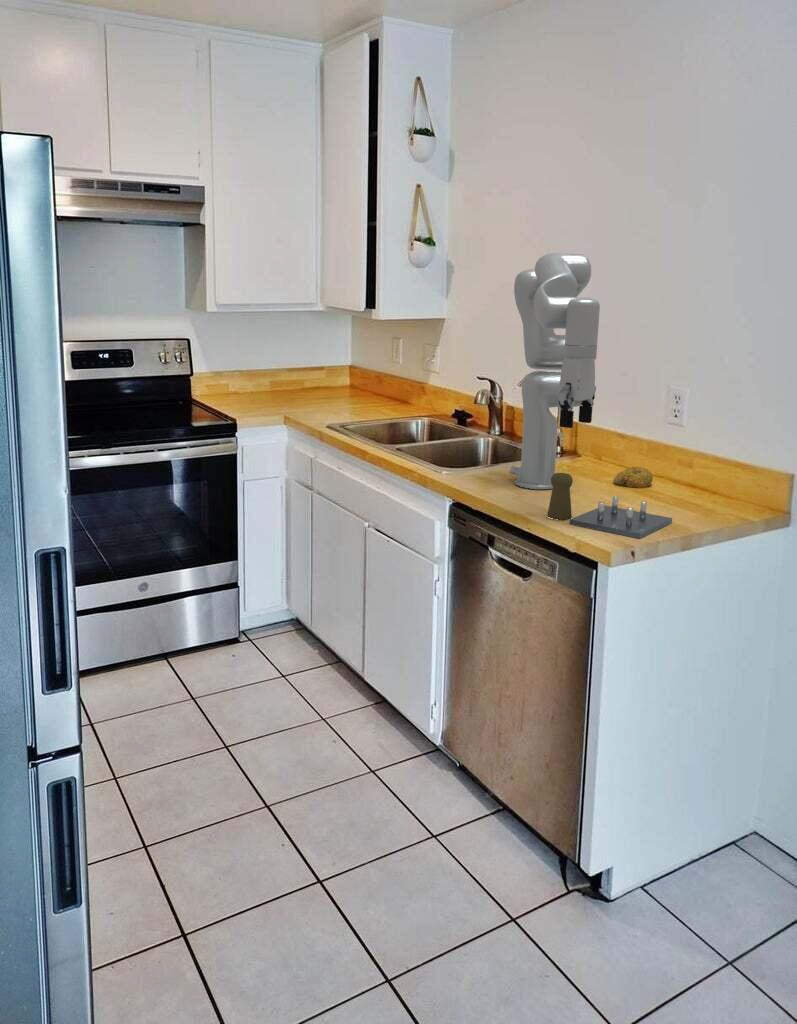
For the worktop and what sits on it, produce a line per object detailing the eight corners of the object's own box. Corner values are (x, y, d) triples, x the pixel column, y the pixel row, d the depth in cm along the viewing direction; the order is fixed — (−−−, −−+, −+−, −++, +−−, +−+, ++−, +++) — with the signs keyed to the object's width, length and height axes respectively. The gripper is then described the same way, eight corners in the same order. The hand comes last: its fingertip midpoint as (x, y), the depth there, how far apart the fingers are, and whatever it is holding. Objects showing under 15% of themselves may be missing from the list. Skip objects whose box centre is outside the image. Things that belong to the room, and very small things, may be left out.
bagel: (609, 480, 265) (610, 464, 263) (646, 481, 265) (648, 465, 264) (617, 488, 255) (619, 472, 254) (656, 489, 255) (658, 472, 254)
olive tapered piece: (568, 514, 227) (571, 470, 224) (574, 520, 221) (577, 476, 219) (544, 513, 227) (547, 470, 224) (549, 520, 221) (552, 476, 218)
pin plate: (569, 524, 218) (570, 503, 217) (604, 509, 232) (605, 489, 230) (639, 538, 207) (641, 516, 206) (671, 522, 221) (673, 502, 219)
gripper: (582, 349, 223) (578, 419, 227) (548, 353, 210) (544, 427, 214) (611, 351, 219) (605, 422, 223) (577, 356, 205) (573, 431, 210)
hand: (575, 424), depth 219 cm, fingers open, 9 cm apart
